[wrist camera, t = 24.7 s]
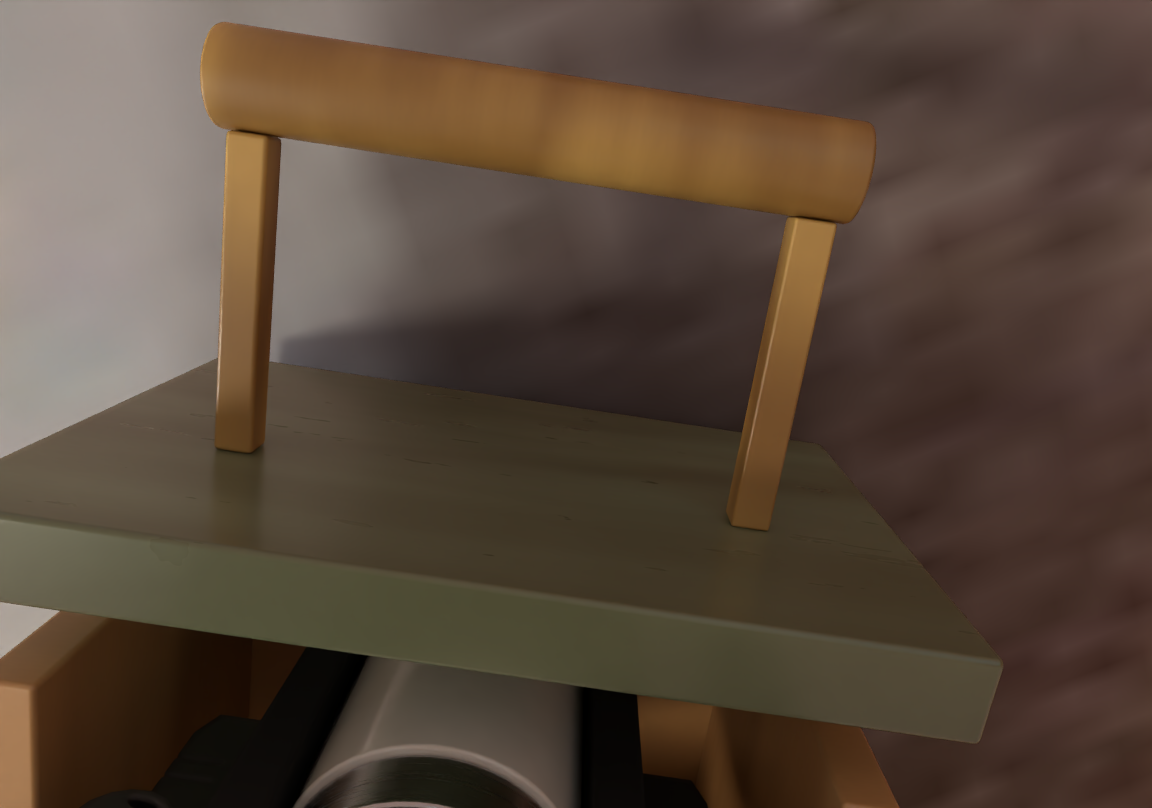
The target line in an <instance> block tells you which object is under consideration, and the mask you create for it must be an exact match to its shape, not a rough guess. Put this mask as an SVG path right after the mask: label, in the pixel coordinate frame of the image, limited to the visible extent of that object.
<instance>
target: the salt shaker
mask: <svg viewBox="0 0 1152 808" xmlns="http://www.w3.org/2000/svg"><path fill="white" fill-rule="evenodd" d="M585 723H586V687H580V686H573V685H566V684H559V683H553V682H546V681H539V680H532V679H525V678H518V677H511V676H505V675H498V674H491V673H484V672H477V671H470V670H463V669H457V668H450V667H443V666H436V665H429V664H422V663H415V662H409V661H402V660H395V659H388V658H381V657H374V656H368V655H366V657H365V659H364V661H363V663H362V665H361V667H360V670H359V672H358V674H357V676H356V678H355V680H354V682H353V684H352V686H351V688H350V690H349V692H348V694H347V696H346V698H345V700H344V702H343V704H342V706H341V708H340V710H339V713H338V715H337V717H336V719H335V721H334V723H333V725H332V727H331V729H330V731H329V733H328V735H327V737H326V739H325V741H324V743H323V745H322V747H321V749H320V751H319V753H318V756H317V758H316V760H315V762H314V764H313V766H312V768H311V770H310V772H309V774H308V776H307V778H306V780H305V782H304V784H303V786H302V788H301V790H300V792H299V794H298V797H297V799H296V801H295V803H294V805H293V807H292V808H584V767H585Z"/></svg>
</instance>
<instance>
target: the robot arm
mask: <svg viewBox="0 0 1152 808" xmlns="http://www.w3.org/2000/svg"><path fill="white" fill-rule="evenodd" d="M365 657H366V655H361V654H354V653H347V652H340V651H333V650H326V649H320V648H313V647H306V648H305V650H304V652H303V653H302V655H301V656H300V658H299V660H298V661H297V663H296V664H295V666H294V668H293V669H292V671H291V672H290V674H289V676H288V677H287V679H286V680H285V682H284V684H283V685H282V687H281V688H280V690H279V692H278V693H277V695H276V696H275V698H274V700H273V701H272V703H271V704H270V706H269V708H268V709H267V711H266V712H265V714H264V716H263V717H262V719H261V720H256V719H249V718H242V717H235V716H228V715H219V716H218V717H216V718H215V719H213V720H212V721H210V722H209V723H207V724H206V725H204V726H203V727H201V728H200V729H198V730H197V731H195V732H194V733H193V735H192V736H191V737H190V739H189V740H188V742H187V743H186V744H185V746H184V747H183V748H182V750H181V751H180V753H179V754H178V757H177V759H174V761H173V762H172V763H171V765H170V766H169V768H168V769H167V770H166V772H165V775H164V777H161V778H160V780H159V781H158V783H157V784H156V785H155V787H154V788H153V789H152V791H146V790H138V789H129V790H122V791H115V792H110V793H108V794H105V795H102V796H100V797H97V798H94V799H92V800H90V801H88V802H87V803H85V804H84V805H82V806H81V807H79V808H292V807H293V805H294V803H295V801H296V799H297V797H298V794H299V792H300V790H301V788H302V786H303V784H304V782H305V780H306V778H307V776H308V774H309V772H310V770H311V768H312V766H313V764H314V762H315V760H316V758H317V756H318V753H319V751H320V749H321V747H322V745H323V743H324V741H325V739H326V737H327V735H328V733H329V731H330V729H331V727H332V725H333V723H334V721H335V719H336V717H337V715H338V713H339V710H340V708H341V706H342V704H343V702H344V700H345V698H346V696H347V694H348V692H349V690H350V688H351V686H352V684H353V682H354V680H355V678H356V676H357V674H358V672H359V670H360V667H361V665H362V663H363V661H364V659H365ZM584 808H708V806H707V803H706V801H705V800H704V798H703V797H702V795H701V794H700V792H699V791H698V789H697V788H696V787H695V785H694V784H693V782H692V781H691V780H686V779H679V778H672V777H666V776H659V775H652V774H645V773H643V768H642V755H641V742H640V729H639V715H638V702H637V695H635V694H628V693H621V692H614V691H607V690H600V689H594V688H587V687H586V723H585V767H584Z"/></svg>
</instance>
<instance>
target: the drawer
mask: <svg viewBox="0 0 1152 808" xmlns="http://www.w3.org/2000/svg"><path fill="white" fill-rule="evenodd" d="M200 81H201V91H202V97H203V101H204V105H205V108H206V111H207V113H208V115H209V117H210V119H211V120H212V122H213V123H214V124H215V125H217V126H219V127H220V128H223V129H228V130H231V131H228V132H227V136H226V161H225V187H224V212H223V238H222V264H221V289H220V315H219V340H218V358H216V359H214V360H212V361H210V362H208V363H206V364H203V365H201V366H199V367H197V368H195V369H193V370H190V371H188V372H186V373H184V374H182V375H180V376H177V377H175V378H173V379H171V380H169V381H167V382H164V383H162V384H160V385H158V386H156V387H154V388H152V389H149V390H147V391H145V392H143V393H141V394H139V395H136V396H134V397H132V398H130V399H128V400H126V401H123V402H121V403H119V404H117V405H115V406H113V407H110V408H108V409H106V410H104V411H102V412H100V413H97V414H95V415H93V416H91V417H89V418H87V419H85V420H82V421H80V422H78V423H76V424H74V425H72V426H69V427H67V428H65V429H63V430H61V431H59V432H56V433H54V434H52V435H50V436H48V437H46V438H43V439H41V440H39V441H37V442H35V443H33V444H31V445H28V446H26V447H24V448H22V449H20V450H18V451H15V452H13V453H11V454H9V455H7V456H5V457H2V458H0V602H4V603H11V604H18V605H25V606H32V607H39V608H45V609H52V610H59V612H58V613H57V614H56V615H54V616H53V617H52V618H51V619H49V620H48V621H47V622H46V623H44V624H43V625H42V626H41V627H39V628H38V629H37V630H36V631H34V632H33V633H32V634H31V635H29V636H28V637H27V638H26V639H24V640H23V641H22V642H21V643H19V644H18V645H17V646H16V647H14V648H13V649H12V650H11V651H9V652H8V653H7V654H6V655H4V656H3V657H2V658H1V659H0V808H79V807H81V806H82V805H84V804H85V803H87V802H88V801H90V800H92V799H94V798H97V797H100V796H102V795H105V794H108V793H110V792H115V791H122V790H129V789H138V790H146V791H152V789H153V788H154V787H155V785H156V784H157V783H158V781H159V780H160V778H161V777H164V775H165V772H166V770H167V769H168V768H169V766H170V765H171V763H172V762H173V761H174V759H177V757H178V754H179V753H180V751H181V750H182V748H183V747H184V746H185V744H186V743H187V742H188V740H189V739H190V737H191V736H192V735H193V733H194V732H195V731H197V730H198V729H200V728H201V727H203V726H204V725H206V724H207V723H209V722H210V721H212V720H213V719H215V718H216V717H218V716H219V715H228V716H235V717H242V718H249V719H256V720H261V719H262V717H263V716H264V714H265V712H266V711H267V709H268V708H269V706H270V704H271V703H272V701H273V700H274V698H275V696H276V695H277V693H278V692H279V690H280V688H281V687H282V685H283V684H284V682H285V680H286V679H287V677H288V676H289V674H290V672H291V671H292V669H293V668H294V666H295V664H296V663H297V661H298V660H299V658H300V656H301V655H302V653H303V652H304V650H305V648H306V647H313V648H320V649H326V650H333V651H340V652H347V653H354V654H361V655H368V656H374V657H381V658H388V659H395V660H402V661H409V662H415V663H422V664H429V665H436V666H443V667H450V668H457V669H463V670H470V671H477V672H484V673H491V674H498V675H505V676H511V677H518V678H525V679H532V680H539V681H546V682H553V683H559V684H566V685H573V686H580V687H587V688H594V689H600V690H607V691H614V692H621V693H628V694H635V695H637V702H638V715H639V729H640V742H641V755H642V768H643V773H645V774H652V775H659V776H666V777H672V778H679V779H686V780H691V781H692V782H693V784H694V785H695V787H696V788H697V789H698V791H699V792H700V794H701V795H702V797H703V798H704V800H705V801H706V803H707V806H708V808H899V806H898V804H897V802H896V800H895V797H894V795H893V793H892V791H891V789H890V787H889V785H888V783H887V781H886V779H885V777H884V775H883V773H882V770H881V768H880V766H879V764H878V762H877V760H876V758H875V756H874V754H873V752H872V750H871V748H870V746H869V743H868V741H867V739H866V737H865V735H864V733H863V731H862V729H861V728H868V729H875V730H881V731H888V732H895V733H902V734H909V735H916V736H923V737H929V738H936V739H943V740H950V741H957V742H964V743H971V744H976V743H978V742H979V741H980V740H981V737H982V733H983V730H984V727H985V724H986V721H987V718H988V715H989V711H990V708H991V705H992V702H993V699H994V696H995V692H996V689H997V686H998V683H999V680H1000V677H1001V673H1002V670H1003V661H1002V659H1001V658H1000V657H999V656H998V654H997V653H996V652H995V651H994V650H993V649H992V647H991V646H990V645H989V644H988V643H987V641H986V640H985V639H984V638H983V637H982V636H981V634H980V633H979V632H978V631H977V630H976V628H975V627H974V626H973V625H972V624H971V622H970V621H969V620H968V619H967V618H966V617H965V615H964V614H963V613H962V612H961V611H960V609H959V608H958V607H957V606H956V605H955V604H954V602H953V601H952V600H951V599H950V598H949V596H948V595H947V594H946V593H945V592H944V591H943V589H942V588H941V587H940V586H939V585H938V583H937V582H936V581H935V580H934V579H933V577H932V576H931V575H930V574H929V573H928V572H927V570H926V569H925V568H924V567H923V566H922V564H921V563H920V562H919V561H918V560H917V559H916V557H915V556H914V555H913V554H912V553H911V551H910V550H909V549H908V548H907V547H906V546H905V544H904V543H903V542H902V541H901V540H900V538H899V537H898V536H897V535H896V534H895V532H894V531H893V530H892V529H891V528H890V527H889V525H888V524H887V523H886V522H885V521H884V519H883V518H882V517H881V516H880V515H879V514H878V512H877V511H876V510H875V509H874V508H873V506H872V505H871V504H870V503H869V502H868V501H867V499H866V498H865V497H864V496H863V495H862V493H861V492H860V491H859V490H858V489H857V487H856V486H855V485H854V484H853V483H852V482H851V480H850V479H849V478H848V477H847V476H846V474H845V473H844V472H843V471H842V470H841V469H840V467H839V466H838V465H837V464H836V463H835V461H834V460H833V459H832V458H831V457H830V456H829V454H828V453H827V452H826V451H825V450H824V448H823V447H822V446H821V445H819V444H814V443H808V442H801V441H794V440H789V438H790V433H791V429H792V424H793V420H794V415H795V411H796V406H797V402H798V397H799V393H800V389H801V384H802V380H803V375H804V371H805V366H806V362H807V357H808V353H809V348H810V344H811V339H812V335H813V331H814V326H815V322H816V317H817V313H818V308H819V304H820V299H821V295H822V290H823V286H824V282H825V277H826V273H827V268H828V264H829V259H830V255H831V250H832V246H833V241H834V237H835V233H836V228H837V226H836V224H835V223H839V224H846V223H849V222H850V221H852V220H853V218H854V217H855V216H856V214H857V213H858V211H859V209H860V207H861V205H862V203H863V201H864V199H865V196H866V194H867V191H868V188H869V185H870V181H871V177H872V173H873V169H874V163H875V156H876V133H875V129H874V127H873V125H872V124H870V123H869V122H865V121H859V120H853V119H846V118H840V117H833V116H827V115H820V114H814V113H808V112H801V111H795V110H788V109H782V108H775V107H769V106H763V105H756V104H750V103H743V102H737V101H730V100H724V99H718V98H711V97H705V96H698V95H692V94H685V93H679V92H673V91H666V90H660V89H653V88H647V87H640V86H634V85H628V84H621V83H615V82H608V81H602V80H595V79H589V78H582V77H576V76H570V75H563V74H557V73H550V72H544V71H537V70H531V69H525V68H518V67H512V66H505V65H499V64H492V63H486V62H480V61H473V60H467V59H460V58H454V57H447V56H441V55H435V54H428V53H422V52H415V51H409V50H402V49H396V48H390V47H383V46H377V45H370V44H364V43H357V42H351V41H345V40H338V39H332V38H325V37H319V36H312V35H306V34H300V33H293V32H287V31H280V30H274V29H267V28H261V27H255V26H248V25H242V24H235V23H229V22H221V23H218V24H216V25H214V26H213V27H212V28H211V30H210V31H209V33H208V35H207V37H206V40H205V43H204V46H203V51H202V56H201V66H200ZM234 130H235V131H234ZM278 137H280V138H287V139H293V140H300V141H306V142H313V143H319V144H326V145H332V146H339V147H345V148H352V149H358V150H365V151H371V152H378V153H384V154H391V155H397V156H404V157H410V158H417V159H423V160H430V161H436V162H443V163H449V164H456V165H462V166H469V167H475V168H482V169H488V170H495V171H501V172H508V173H514V174H521V175H527V176H534V177H540V178H547V179H553V180H560V181H566V182H573V183H579V184H586V185H592V186H599V187H605V188H612V189H618V190H625V191H631V192H638V193H644V194H651V195H657V196H664V197H670V198H677V199H683V200H690V201H696V202H703V203H709V204H716V205H722V206H729V207H735V208H742V209H748V210H755V211H761V212H768V213H774V214H781V215H787V216H789V217H788V218H787V221H786V225H785V230H784V235H783V240H782V245H781V249H780V254H779V259H778V264H777V268H776V273H775V278H774V283H773V288H772V292H771V297H770V302H769V307H768V312H767V316H766V321H765V326H764V331H763V336H762V340H761V345H760V350H759V355H758V359H757V364H756V369H755V374H754V379H753V383H752V388H751V393H750V398H749V403H748V407H747V412H746V417H745V422H744V426H743V431H742V433H741V432H735V431H728V430H721V429H715V428H708V427H701V426H695V425H688V424H681V423H675V422H668V421H661V420H655V419H648V418H641V417H635V416H628V415H621V414H615V413H608V412H602V411H595V410H588V409H582V408H575V407H568V406H562V405H555V404H548V403H542V402H535V401H528V400H522V399H515V398H508V397H502V396H495V395H488V394H482V393H475V392H468V391H462V390H455V389H449V388H442V387H435V386H429V385H422V384H415V383H409V382H402V381H395V380H389V379H382V378H375V377H369V376H362V375H355V374H349V373H342V372H335V371H329V370H322V369H315V368H309V367H302V366H295V365H289V364H282V363H276V362H269V355H270V337H271V319H272V301H273V283H274V265H275V247H276V229H277V211H278V193H279V175H280V157H281V140H280V139H279V138H278ZM832 222H833V223H832Z"/></svg>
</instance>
